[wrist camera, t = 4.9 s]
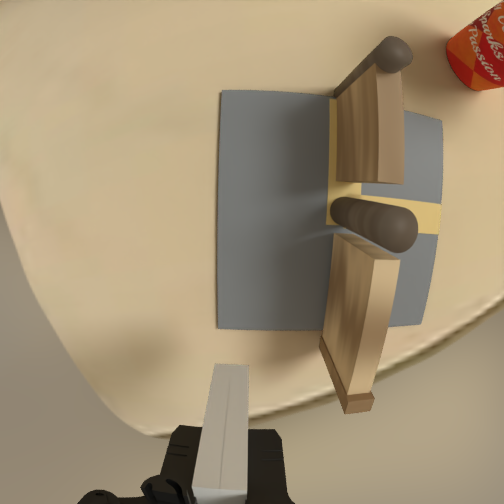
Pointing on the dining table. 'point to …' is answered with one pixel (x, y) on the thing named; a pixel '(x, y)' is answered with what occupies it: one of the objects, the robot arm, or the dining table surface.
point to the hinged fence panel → (357, 317)
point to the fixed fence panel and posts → (374, 146)
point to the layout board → (308, 210)
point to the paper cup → (480, 51)
